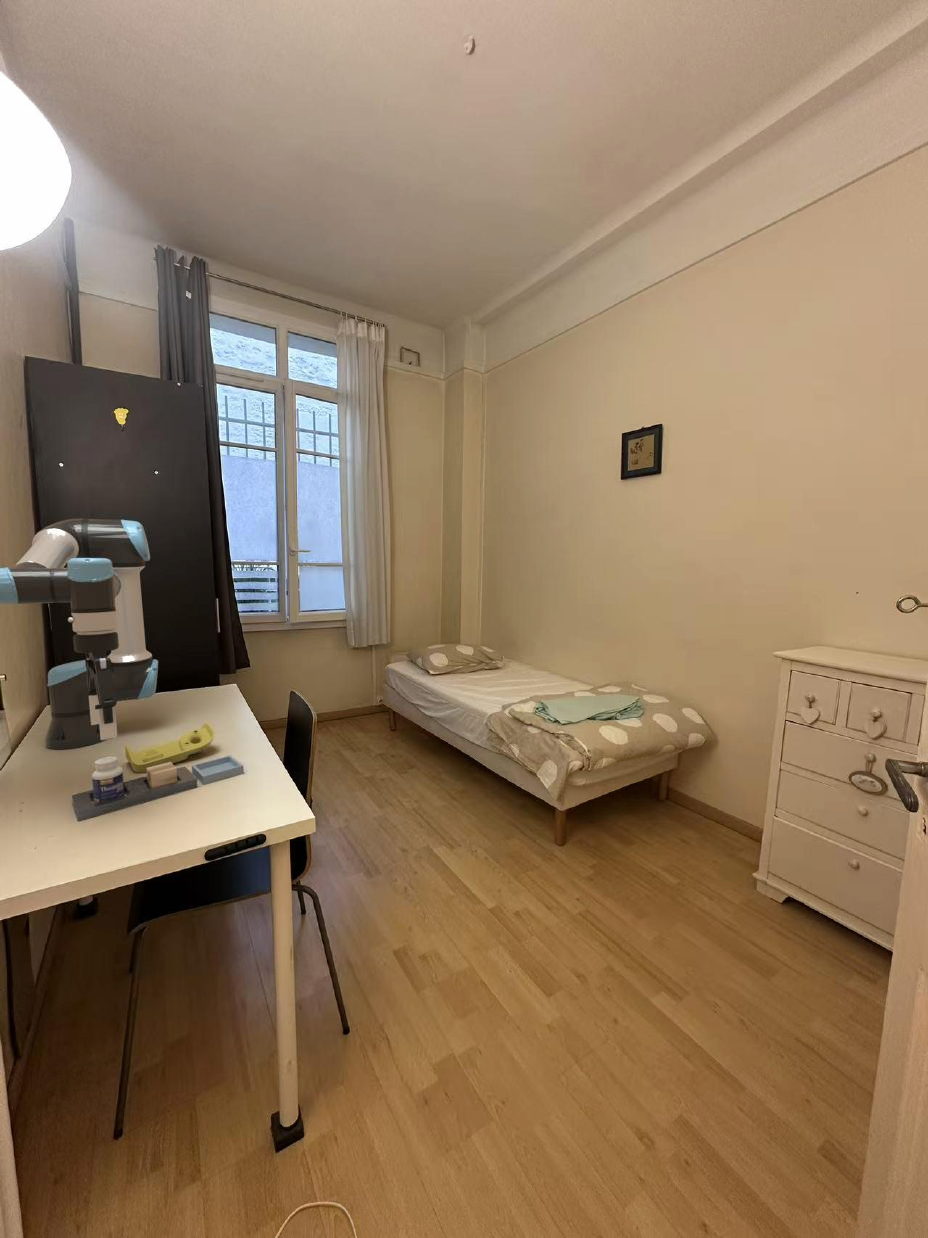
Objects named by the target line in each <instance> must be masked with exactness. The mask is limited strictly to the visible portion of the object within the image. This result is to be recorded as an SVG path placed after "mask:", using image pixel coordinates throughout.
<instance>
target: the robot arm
mask: <svg viewBox="0 0 928 1238" xmlns="http://www.w3.org/2000/svg"><path fill="white" fill-rule="evenodd" d="M149 548H150V547H149V543H148V539H147V535H146V532H145V529H144V526H143V524H142V523H140V522H139V521H135V520H128V519H127V520H125V519H101V518H100V519H99V518H98V519H96V518H70V519H65V520H61V521H58V522H54V523H52V524H50V525H47V526H45V527H44V528H41V530H39V531H38V532H37V533H36V534H35V535H34V536H33V539H32V542H31V547H30V548H29V549H28V550H27V552H26V553H25V554H24V555H23V556H22V557H21V558H20V560H18V561H17V563H16V564H15V565H14V566H13V567H2V568H1V567H0V605H15V606H16V605H25V604H26V605H28V604H29V605H30V604H53V603H70V612H71V616H72V617H68V618H67V621H68V622H69V623H71V624H72V631H73V632H74V633H76V634H74V635H73V636H72V641H73V650H74V652H75V653H79V654H85V656H86V658H85V659H83V660H77V661H72V662H67V663H63V664H61V665H57V666H54V667H52V668H51V669H50V670H49V671H48V673H47V687H48V695H49V697H48V699H49V706H50V716H51V720H50V723H49V727H48V729H47V732H46V736H45V739H44V740H45V747H46V748H48V749H50V750H67V749H75V748H82V747H87V746H90V745H94V744H97V743H101V742H104V741H105V740H110V739H114V738H115V739H116V738H118V728H117V717H116V716H117V715H116V705H117V703H118V702H122V701H125V702H126V701H131V700H132V701H133V700H141V699H148V698H151V697H153V696H154V695H155V694H156V690H157V683H158V680H157V679H158V670H159V660H158V659H153V655H152V653H151V652H150V651H148V650H147V649H146V637H145V625H144V623H145V622H144V612H143V601H142V587H141V577H140V576H141V575H140V573H141V571H142V570H143V569H144V568H146V562H147V561H148V562H149V561H150V560H151V554H150V549H149ZM66 565H67V566H66ZM65 566H66V567H65ZM109 651H110V654H109V655H107V652H109Z"/></svg>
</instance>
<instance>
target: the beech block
mask: <svg viewBox="0 0 928 1238" xmlns="http://www.w3.org/2000/svg"><path fill="white" fill-rule="evenodd" d="M176 768H177V767H176V766H175V765H174V763H173V764H172V763H171V762H169V763H165V764H161V765H156V766H152V767H148V768H146V772H145V773H146V776H147V786H148V789H151V788H155V787H158V786H162V785H166V784H169V783H173V782H177V770H176Z"/></svg>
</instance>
